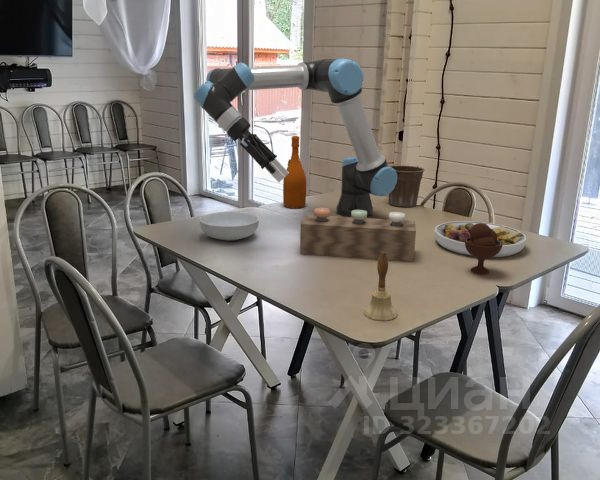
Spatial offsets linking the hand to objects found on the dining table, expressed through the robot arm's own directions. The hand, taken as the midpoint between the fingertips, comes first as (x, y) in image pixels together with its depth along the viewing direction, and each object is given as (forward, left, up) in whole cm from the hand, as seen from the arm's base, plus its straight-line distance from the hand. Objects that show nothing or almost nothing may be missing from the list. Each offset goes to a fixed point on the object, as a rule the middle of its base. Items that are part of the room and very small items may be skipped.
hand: (284, 177), depth 184 cm
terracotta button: (-9, +9, -16) cm, 20 cm away
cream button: (-26, +26, -16) cm, 40 cm away
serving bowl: (+10, -20, -24) cm, 32 cm away
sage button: (-17, +17, -16) cm, 29 cm away
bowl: (-57, +34, -24) cm, 71 cm away
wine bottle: (-35, -45, -24) cm, 62 cm away
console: (-17, +17, -23) cm, 34 cm away
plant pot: (-78, -23, -24) cm, 85 cm away
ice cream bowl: (-36, +51, -24) cm, 67 cm away
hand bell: (+10, +57, -24) cm, 63 cm away
